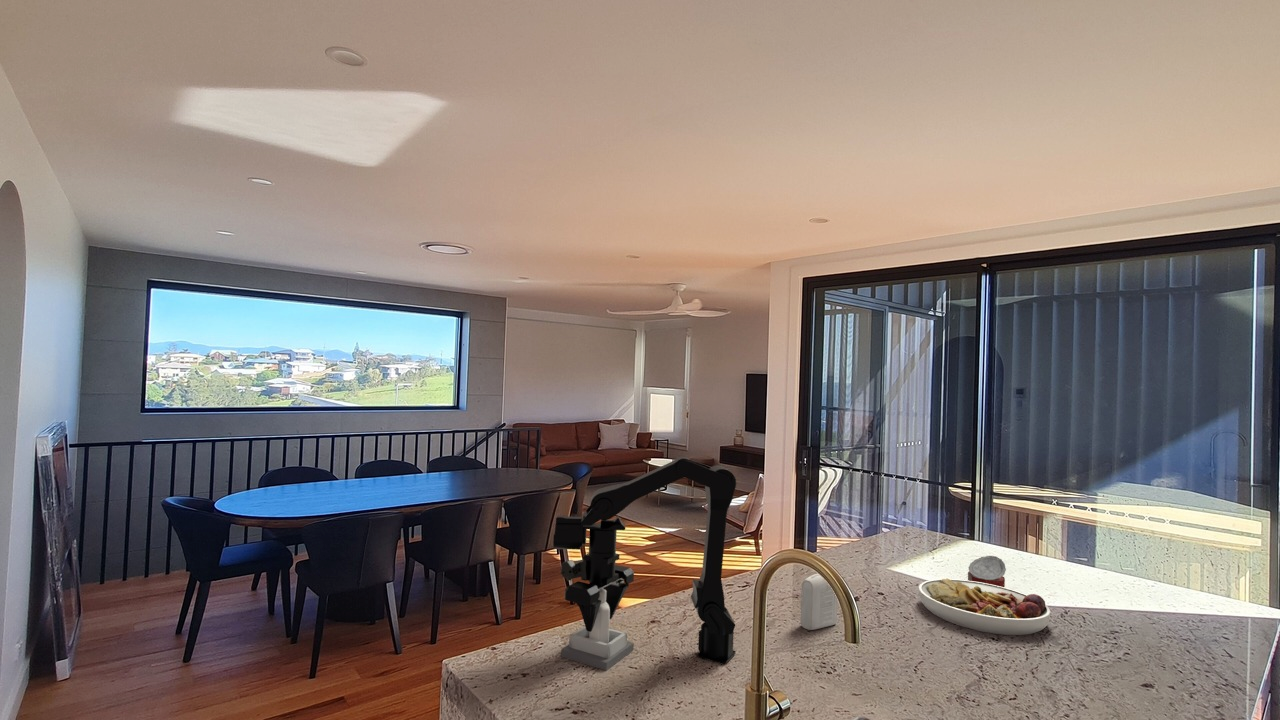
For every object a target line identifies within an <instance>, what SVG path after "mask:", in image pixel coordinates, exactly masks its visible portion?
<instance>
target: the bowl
mask: <svg viewBox="0 0 1280 720" xmlns="http://www.w3.org/2000/svg"><path fill="white" fill-rule="evenodd" d="M918 597H919V599H920V601H921V603H922V604H923V606H924V607H925V609H927V610H928V611H930V613H932V614H933V615H935V616H936V617H938V618H940V619H942V620H944V621H946V622H949V623H951V624H954V625H957V626H960V627H963V628H967V629H968V630H969V629H970V630H972V631H973V630H974V631H978V632H983V633H988V634H995V635H1004V636H1005V635H1006V636H1025V635H1032V634H1035V633H1038V632H1040V631H1042V630H1044V628H1046V627H1047V625H1048V624H1049V623H1050V620H1051V610H1050V608H1049V606H1048V605H1046V601H1045V599H1044V598H1043V597H1042V596H1040V595H1038V594H1035V593H1031V594H1026V593H1023V592H1020V591H1018V590H1015V589H1011V588H1008V587H1005V588H1004V587H1000V586H996V585H992V584H987V583H981V582H975V581H968V579H966V580H965V579H956V578H954V579H953V578H941V579H936V578H935V579H930V580H926V581H923V582H921V583H920V584H919V585H918Z"/></svg>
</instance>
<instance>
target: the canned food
mask: <svg viewBox="0 0 1280 720" xmlns="http://www.w3.org/2000/svg"><path fill="white" fill-rule="evenodd" d="M1006 571H1007V568H1006V564H1005V562H1004V561H1003V560H1002V558H999V557H998V556H995V555H986V556H980V557H979V558H977V559H974V560H973V561H972V562H970V564H969V566H968V572H967V581H975V582H981V583H987V584H992V585H996V586H1000V587H1005V588H1006V586H1005V585H1006V584H1005V583H1006V580H1005V579H1006V578H1005V574H1006Z"/></svg>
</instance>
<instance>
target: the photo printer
mask: <svg viewBox="0 0 1280 720" xmlns="http://www.w3.org/2000/svg"><path fill="white" fill-rule="evenodd" d="M801 583H802V584H801V594H800V595H801V599H800V625H801V627H802V628H803V629H805V630H807V631H808V630H809V631H812V630H818V629H822V628H826V627H827V628H828V627H830V626H834V625H836V624H837V623H838V606H839V605H838V603H839V602H838V600H839V599H838V600H837V598H836V596H835V594H834V592H833V590H832V589H831V587H830V586H829V585H828V583H827V582H826V581H825V580H824V579H823V578H822V577H821V576H820V575H819V574H818V573H814V574H812V575H810V576H809V577H806V578H805V579H804V580H803V581H802V582H801Z"/></svg>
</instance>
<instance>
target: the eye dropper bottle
mask: <svg viewBox="0 0 1280 720" xmlns="http://www.w3.org/2000/svg"><path fill="white" fill-rule="evenodd" d="M598 600H601V604H600V607H599V610H598V614H597V617H596V620H595V624H594V626H593V629H592V631H591V632H589V639H593V640H596V641H600V642H603V643H607V644H608V643H609V628H610V622H611V621H610V620H611V619H610V608H609V605H608V603H607V602H606V590H605V589H603V588H602V589H600V596H599V598H598Z"/></svg>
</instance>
